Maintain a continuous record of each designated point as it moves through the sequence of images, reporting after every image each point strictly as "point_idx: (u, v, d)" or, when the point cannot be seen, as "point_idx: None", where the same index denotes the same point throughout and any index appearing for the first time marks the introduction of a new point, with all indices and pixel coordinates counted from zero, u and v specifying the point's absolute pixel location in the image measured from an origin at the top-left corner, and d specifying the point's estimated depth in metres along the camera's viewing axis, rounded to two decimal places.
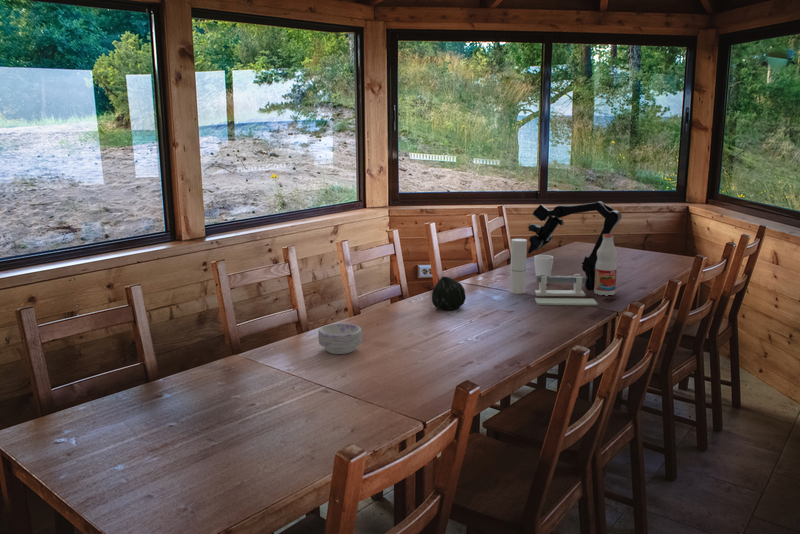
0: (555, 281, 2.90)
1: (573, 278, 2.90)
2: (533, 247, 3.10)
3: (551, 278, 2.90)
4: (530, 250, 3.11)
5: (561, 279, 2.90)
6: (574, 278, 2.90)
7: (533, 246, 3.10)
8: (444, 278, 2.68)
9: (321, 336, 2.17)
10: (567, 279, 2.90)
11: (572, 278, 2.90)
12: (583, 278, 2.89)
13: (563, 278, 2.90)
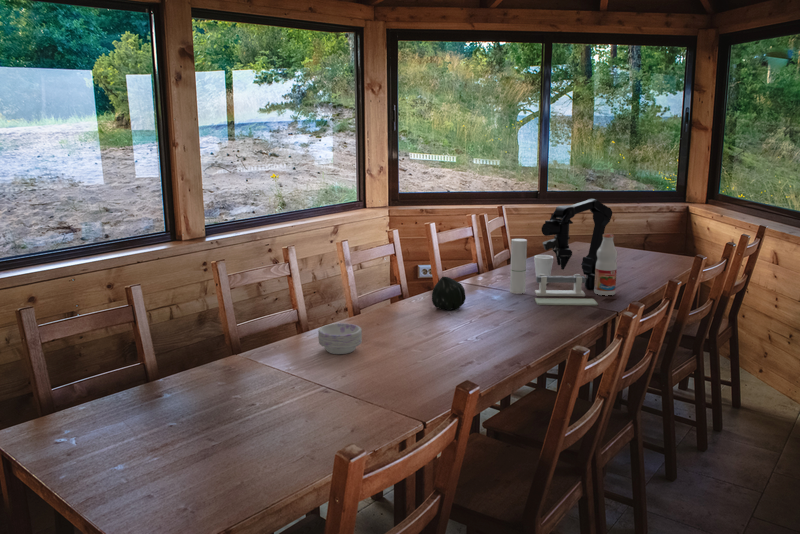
0: (555, 281, 2.90)
1: (573, 278, 2.90)
2: (564, 260, 2.84)
3: (551, 278, 2.90)
4: (563, 265, 2.85)
5: (561, 279, 2.90)
6: (574, 278, 2.90)
7: (564, 259, 2.84)
8: (444, 278, 2.68)
9: (321, 336, 2.17)
10: (567, 279, 2.90)
11: (572, 278, 2.90)
12: (583, 278, 2.89)
13: (563, 278, 2.90)
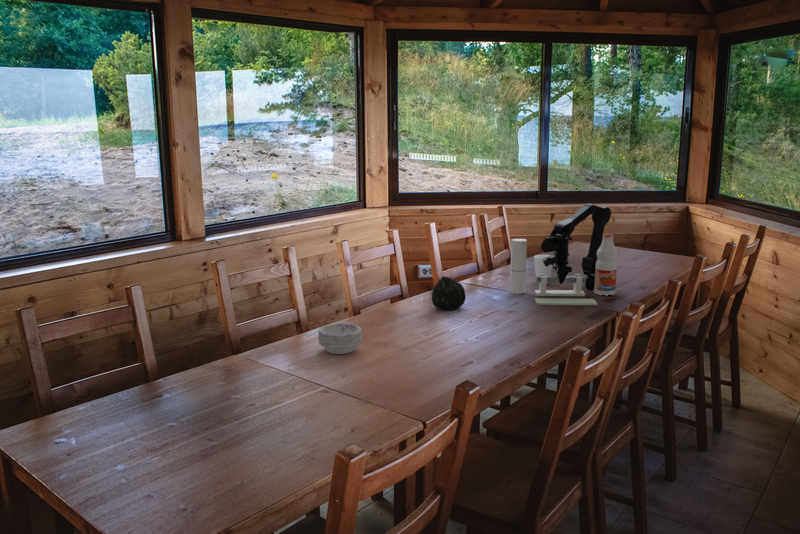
0: (555, 281, 2.90)
1: (573, 278, 2.90)
2: (563, 275, 2.88)
3: (551, 278, 2.90)
4: (561, 280, 2.89)
5: None
6: (574, 278, 2.90)
7: (562, 274, 2.88)
8: (444, 278, 2.68)
9: (321, 336, 2.17)
10: (567, 279, 2.90)
11: (572, 278, 2.90)
12: (583, 278, 2.89)
13: None
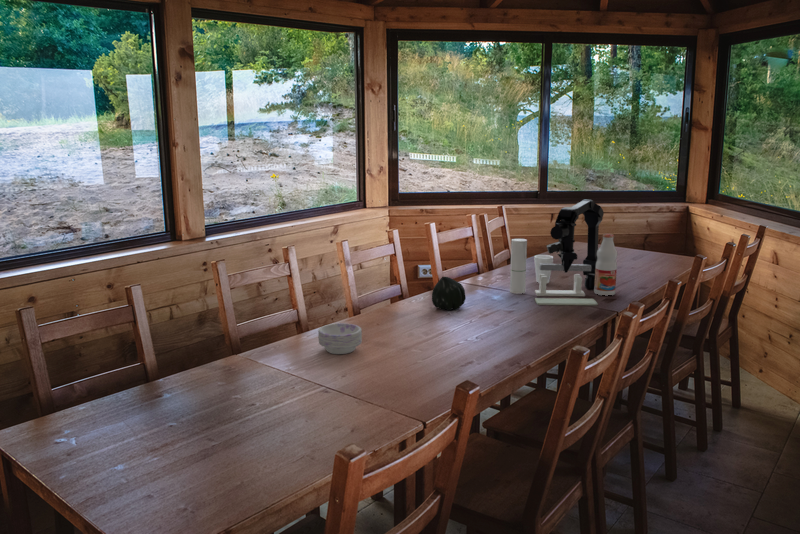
0: (559, 269, 2.78)
1: (578, 266, 2.77)
2: (568, 263, 2.75)
3: (555, 266, 2.77)
4: (566, 268, 2.76)
5: None
6: (579, 266, 2.77)
7: (567, 262, 2.75)
8: (444, 278, 2.68)
9: (321, 336, 2.17)
10: (572, 267, 2.77)
11: (577, 266, 2.77)
12: (589, 266, 2.76)
13: None
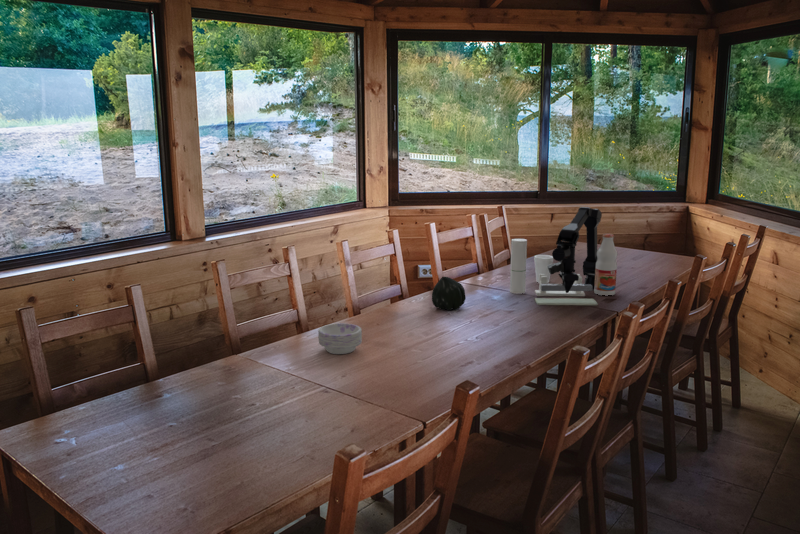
0: (561, 289, 2.77)
1: (580, 286, 2.76)
2: (569, 283, 2.75)
3: (556, 286, 2.77)
4: (567, 288, 2.76)
5: None
6: (581, 286, 2.76)
7: (568, 282, 2.75)
8: (444, 278, 2.68)
9: (321, 336, 2.17)
10: (573, 287, 2.76)
11: (578, 286, 2.76)
12: (590, 286, 2.76)
13: None
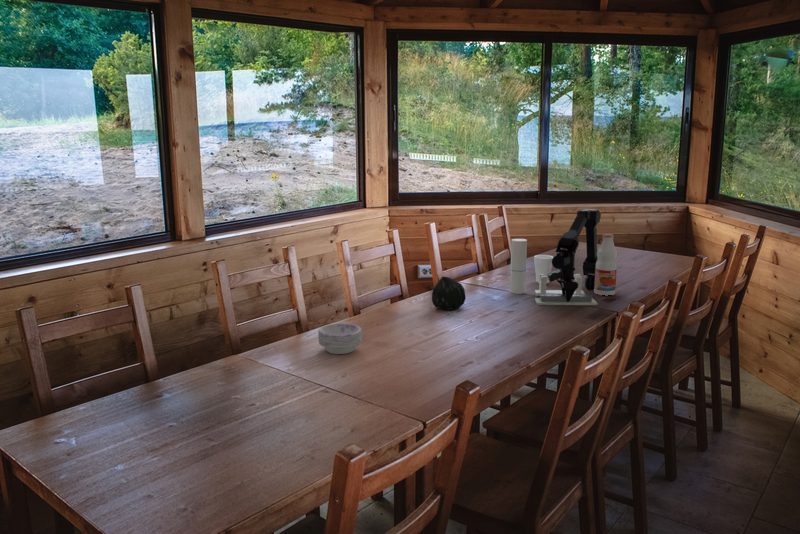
0: (560, 300, 2.78)
1: (579, 297, 2.77)
2: (570, 292, 2.73)
3: (556, 297, 2.78)
4: (568, 297, 2.74)
5: None
6: (580, 297, 2.77)
7: (569, 291, 2.73)
8: (444, 278, 2.68)
9: (321, 336, 2.17)
10: (573, 298, 2.77)
11: (578, 297, 2.77)
12: (589, 297, 2.77)
13: None
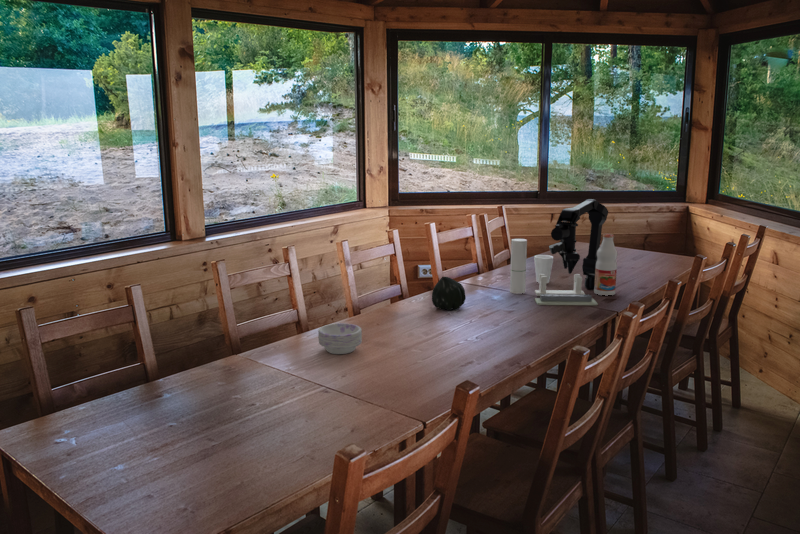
0: (560, 300, 2.78)
1: (579, 297, 2.77)
2: (572, 264, 2.78)
3: (556, 297, 2.78)
4: (570, 269, 2.79)
5: (566, 298, 2.78)
6: (580, 297, 2.77)
7: (571, 263, 2.78)
8: (444, 278, 2.68)
9: (321, 336, 2.17)
10: (573, 298, 2.77)
11: (578, 297, 2.77)
12: (589, 297, 2.77)
13: (568, 297, 2.77)
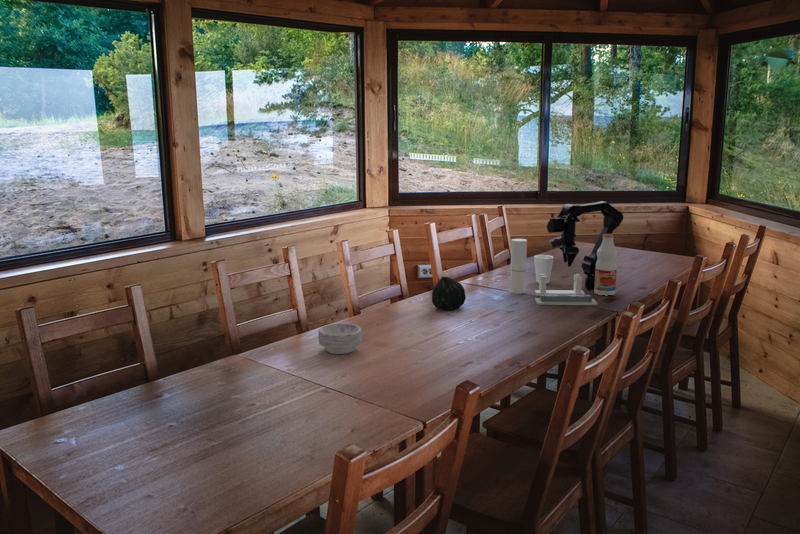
0: (560, 300, 2.78)
1: (579, 297, 2.77)
2: (571, 257, 2.89)
3: (556, 297, 2.78)
4: (569, 262, 2.90)
5: (566, 298, 2.78)
6: (580, 297, 2.77)
7: (570, 257, 2.89)
8: (444, 278, 2.68)
9: (321, 336, 2.17)
10: (573, 298, 2.77)
11: (578, 297, 2.77)
12: (589, 297, 2.77)
13: (568, 297, 2.77)
